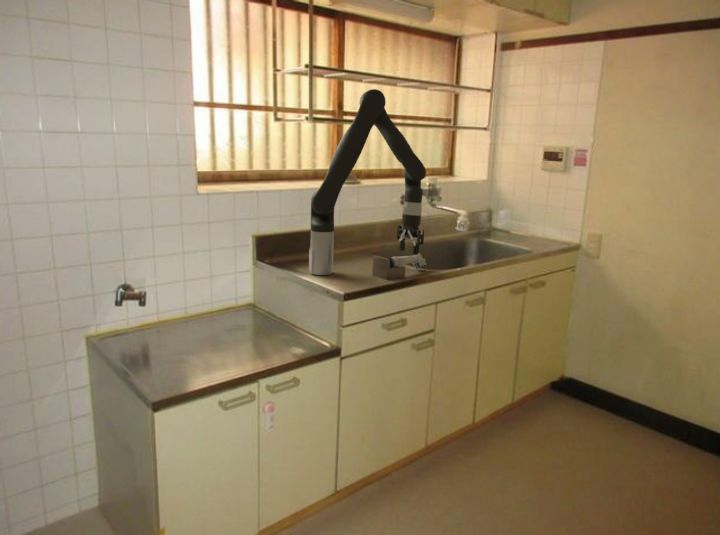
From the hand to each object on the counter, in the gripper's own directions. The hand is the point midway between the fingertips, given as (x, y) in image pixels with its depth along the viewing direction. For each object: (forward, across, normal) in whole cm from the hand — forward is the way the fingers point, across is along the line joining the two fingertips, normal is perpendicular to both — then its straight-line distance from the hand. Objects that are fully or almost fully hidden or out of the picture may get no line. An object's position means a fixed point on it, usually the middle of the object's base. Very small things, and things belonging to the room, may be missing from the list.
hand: (408, 252), depth 219 cm
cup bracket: (+9, 0, -10) cm, 13 cm away
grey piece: (+6, +1, 0) cm, 6 cm away
